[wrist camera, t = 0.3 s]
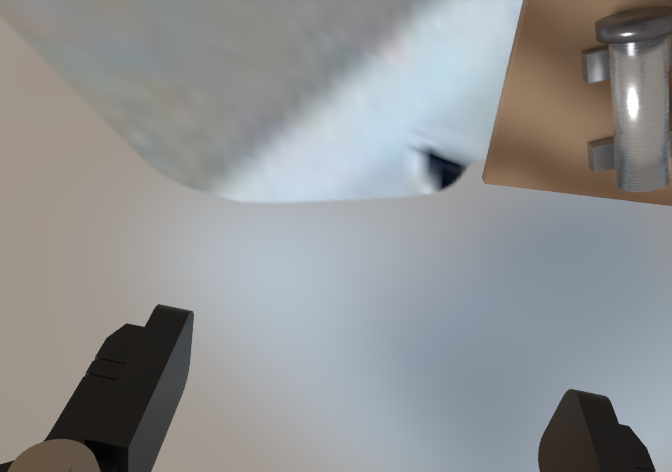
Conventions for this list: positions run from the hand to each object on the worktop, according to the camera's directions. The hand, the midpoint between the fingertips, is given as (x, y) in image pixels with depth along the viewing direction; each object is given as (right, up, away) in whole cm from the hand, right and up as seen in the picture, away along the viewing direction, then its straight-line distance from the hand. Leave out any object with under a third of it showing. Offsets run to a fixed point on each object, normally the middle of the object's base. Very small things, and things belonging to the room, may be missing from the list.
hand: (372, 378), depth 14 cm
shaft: (+16, +11, +23) cm, 30 cm away
